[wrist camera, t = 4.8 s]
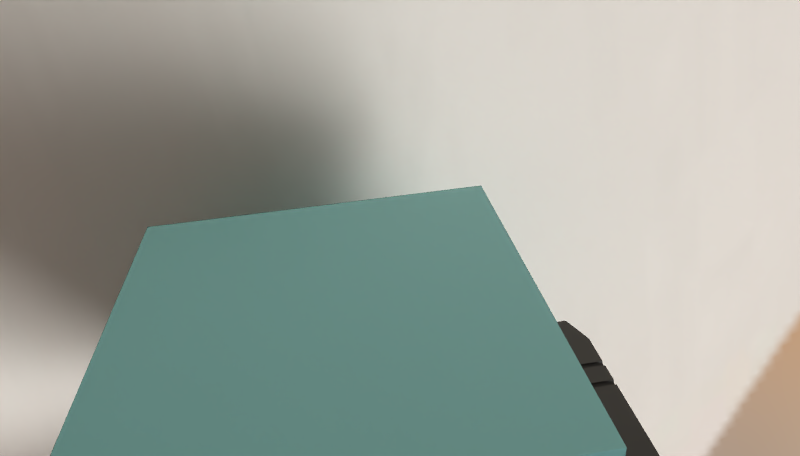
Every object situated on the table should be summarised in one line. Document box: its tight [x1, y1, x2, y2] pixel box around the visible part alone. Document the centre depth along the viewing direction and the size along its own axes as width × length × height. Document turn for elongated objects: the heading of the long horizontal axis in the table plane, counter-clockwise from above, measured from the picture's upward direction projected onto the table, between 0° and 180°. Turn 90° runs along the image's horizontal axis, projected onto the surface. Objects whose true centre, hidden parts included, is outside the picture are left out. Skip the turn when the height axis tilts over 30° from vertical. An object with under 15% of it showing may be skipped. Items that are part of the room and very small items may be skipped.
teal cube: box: [50, 186, 627, 456], centre depth 9 cm, size 6×6×6 cm
